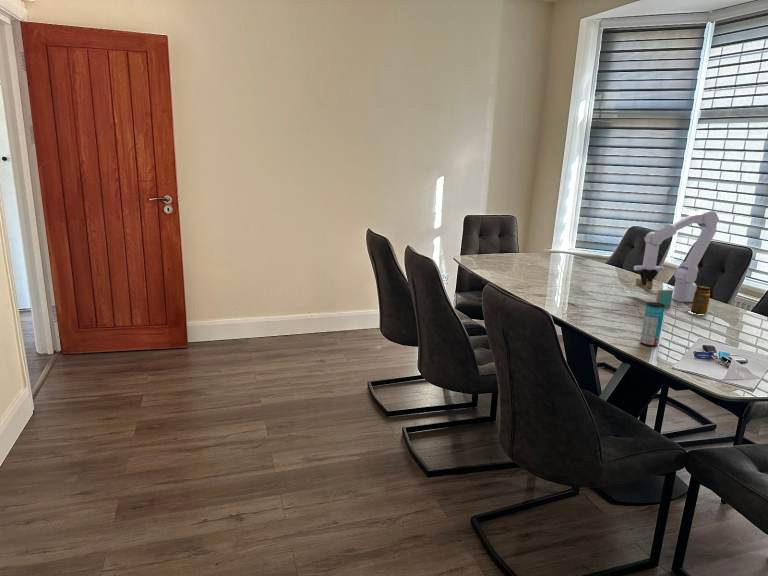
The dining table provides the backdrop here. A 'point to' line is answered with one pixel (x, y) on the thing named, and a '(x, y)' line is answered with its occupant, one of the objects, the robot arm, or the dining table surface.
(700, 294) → the condiment
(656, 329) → the beverage can
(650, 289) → the tall wooden plank
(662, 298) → the tile
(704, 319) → the dining table surface
